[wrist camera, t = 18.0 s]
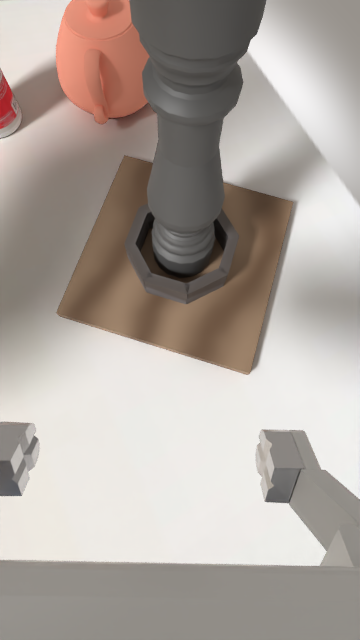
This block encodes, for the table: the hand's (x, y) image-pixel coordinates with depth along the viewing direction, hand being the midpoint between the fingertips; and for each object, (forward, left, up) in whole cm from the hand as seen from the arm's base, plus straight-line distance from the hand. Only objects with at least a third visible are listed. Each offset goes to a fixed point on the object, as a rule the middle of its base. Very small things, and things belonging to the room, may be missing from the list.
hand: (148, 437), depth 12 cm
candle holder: (-3, +17, -19) cm, 26 cm away
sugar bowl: (-18, +36, -21) cm, 45 cm away
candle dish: (-3, +17, -20) cm, 27 cm away
